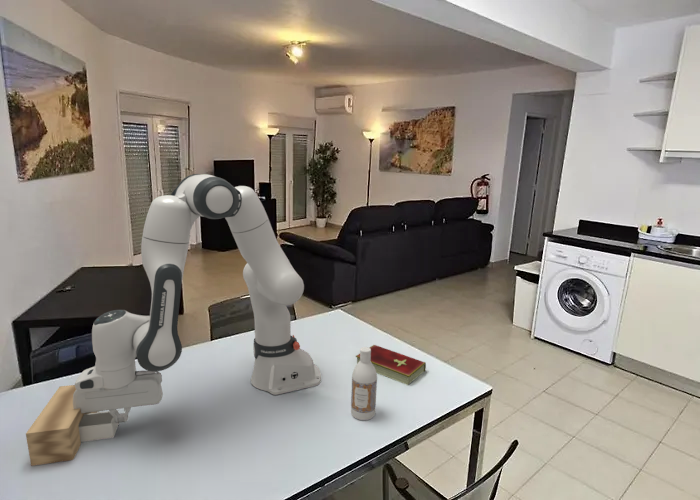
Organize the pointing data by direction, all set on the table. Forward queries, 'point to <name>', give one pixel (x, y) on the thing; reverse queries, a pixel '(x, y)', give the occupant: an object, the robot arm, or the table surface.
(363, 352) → the bath foam
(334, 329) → the table surface
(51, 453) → the overhang dock
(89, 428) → the white drawer
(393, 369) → the hardcover book
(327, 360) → the table surface
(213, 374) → the table surface
